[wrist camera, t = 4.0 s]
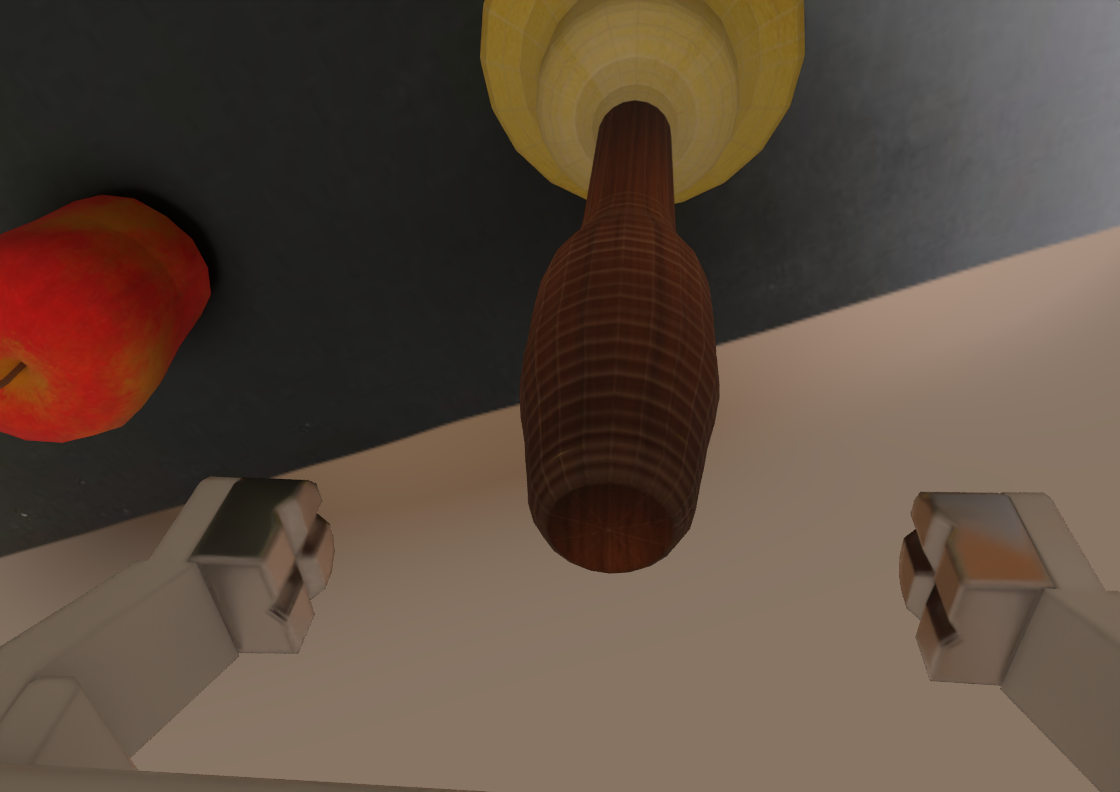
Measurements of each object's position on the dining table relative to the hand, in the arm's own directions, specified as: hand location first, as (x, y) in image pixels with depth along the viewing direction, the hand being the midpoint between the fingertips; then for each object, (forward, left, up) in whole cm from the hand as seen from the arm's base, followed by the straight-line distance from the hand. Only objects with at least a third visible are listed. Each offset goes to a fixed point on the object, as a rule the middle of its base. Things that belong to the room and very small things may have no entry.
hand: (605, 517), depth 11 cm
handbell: (0, 0, -25) cm, 25 cm away
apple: (+23, +8, -25) cm, 35 cm away
